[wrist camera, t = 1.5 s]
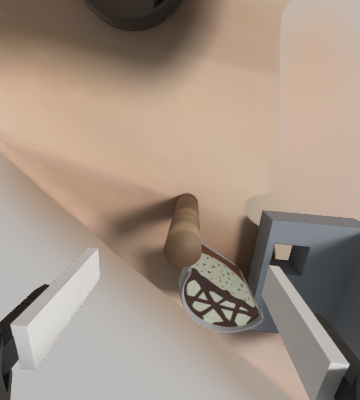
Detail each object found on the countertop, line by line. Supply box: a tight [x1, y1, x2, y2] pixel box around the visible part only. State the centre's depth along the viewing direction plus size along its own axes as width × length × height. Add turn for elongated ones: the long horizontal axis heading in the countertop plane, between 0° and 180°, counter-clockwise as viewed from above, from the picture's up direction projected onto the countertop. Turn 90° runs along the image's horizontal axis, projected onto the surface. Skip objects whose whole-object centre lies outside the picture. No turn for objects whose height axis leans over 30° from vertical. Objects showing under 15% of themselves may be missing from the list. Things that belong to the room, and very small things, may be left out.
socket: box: [247, 211, 360, 361], centre depth 25 cm, size 20×14×16 cm
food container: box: [179, 242, 263, 333], centre depth 29 cm, size 12×6×10 cm, turn 56°
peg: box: [164, 193, 202, 267], centre depth 24 cm, size 3×3×14 cm
